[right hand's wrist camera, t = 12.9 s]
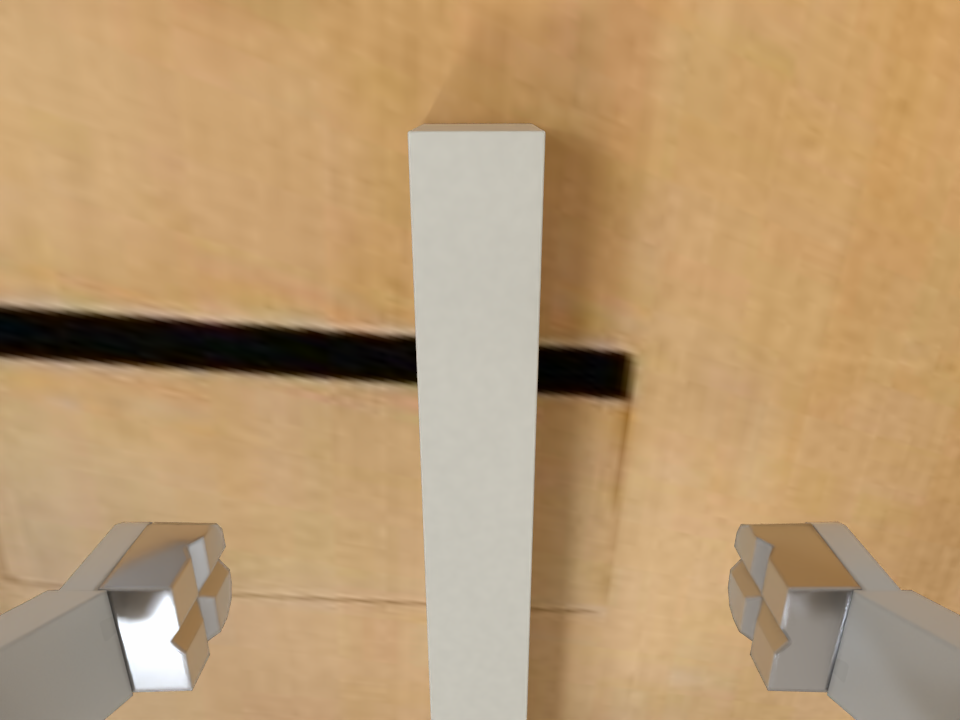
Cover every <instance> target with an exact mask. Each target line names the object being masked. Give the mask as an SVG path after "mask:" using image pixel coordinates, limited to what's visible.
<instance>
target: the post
mask: <svg viewBox="0 0 960 720" xmlns="http://www.w3.org/2000/svg"><path fill="white" fill-rule="evenodd" d="M408 153H409V178H410V204H411V229H412V254H413V279H414V304H415V329H416V355H417V380H418V405H419V430H420V455H421V481H422V506H423V531H424V556H425V581H426V606H427V632H428V657H429V682H430V707H431V720H527V700H528V668H529V637H530V605H531V573H532V542H533V510H534V479H535V447H536V415H537V384H538V352H539V321H540V289H541V257H542V226H543V194H544V163H545V131H543V130H542V129H540V128H538V127H536V126H535V125H533V124H422V125H420V126H418V127H416V128H414V129H412V130H411V131H409V132H408Z"/></svg>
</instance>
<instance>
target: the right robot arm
mask: <svg viewBox="0 0 960 720" xmlns="http://www.w3.org/2000/svg"><path fill="white" fill-rule="evenodd" d="M225 547H226V545H225V540H224V535H223V531H222V528H221V527H220V526H219V525H218V524H217V523H173V522H154V523H152V522H122V523H119V524H116V525H115V526H114V527H113V528H112V529H111V530H110V531H109V532H108V533H107V535H106V536H105V537H104V538H103V539H102V540H101V542H100V543H99V544H98V545H97V546H96V547H95V549H94V550H93V551H92V552H91V553H90V554H89V556H88V557H87V558H86V559H85V560H84V561H83V563H82V564H81V565H80V566H79V567H78V568H77V570H76V571H75V572H74V573H73V574H72V575H71V577H70V578H69V579H68V580H67V581H66V582H65V584H64V585H63V586H62V587H61V588H60V589H59V590H48V591H46V592H44V593H42V594H40V595H38V596H36V597H34V598H33V599H31V600H29V601H27V602H25V603H23V604H21V605H19V606H17V607H15V608H13V609H11V610H9V611H7V612H5V613H3V614H1V615H0V720H105V719H106V718H107V717H108V716H109V715H111V714H112V713H113V712H114V711H115V710H116V709H118V708H119V707H120V706H121V705H122V704H123V703H125V702H126V701H127V700H128V699H129V698H130V697H132V696H133V693H132V692H158V691H192V690H193V688H194V686H195V684H196V682H197V680H198V678H199V676H200V674H201V672H202V670H203V668H204V665H205V663H206V661H207V659H208V657H209V655H210V652H209V647H208V641H209V640H210V639H211V638H213V637H214V636H215V635H217V634H218V633H220V632H221V630H222V628H223V626H224V624H225V621H226V619H227V617H228V613H229V608H230V603H231V598H232V581H231V575H230V569H229V568H228V567H227V566H226V565H225V564H224V563H223V562H222V561H221V560H220V559H219V558H220V556H221V554H222V552H223V550H224V548H225ZM734 547H735V548H736V550H737V552H738V554H739V556H740V558H741V559H740V560H739V561H738V562H737V563H736V564H735V565H734V566H733V567H732V568H731V569H730V576H729V583H728V594H729V606H730V609H731V613H732V616H733V619H734V622H735V624H736V626H737V628H738V630H739V632H740V633H742V634H743V635H745V636H746V637H747V638H749V639H750V640H751V641H752V647H751V652H750V655H751V657H752V659H753V661H754V663H755V665H756V667H757V670H758V672H759V674H760V676H761V678H762V680H763V682H764V684H765V686H766V688H767V690H768V691H801V692H828V693H827V695H828V696H829V697H830V698H831V699H832V700H833V701H835V702H836V703H837V704H838V705H839V706H840V707H842V708H843V709H844V710H845V711H846V712H847V713H849V714H850V715H851V716H852V717H853V718H854V719H856V720H960V615H958V614H956V613H955V612H953V611H951V610H949V609H947V608H945V607H943V606H941V605H939V604H937V603H935V602H933V601H931V600H929V599H927V598H926V597H924V596H922V595H920V594H918V593H916V592H914V591H912V590H900V588H899V587H898V586H897V585H896V584H895V583H894V581H893V580H892V579H891V578H890V577H889V576H888V574H887V573H886V572H885V571H884V570H883V569H882V567H881V566H880V565H879V564H878V563H877V562H876V560H875V559H874V558H873V557H872V556H871V555H870V553H869V552H868V551H867V550H866V549H865V548H864V546H863V545H862V544H861V543H860V542H859V541H858V539H857V538H856V537H855V536H854V535H853V534H852V532H851V531H850V530H849V529H848V528H847V527H846V526H845V525H844V524H842V523H840V522H808V523H798V524H741V525H740V527H739V529H738V531H737V534H736V539H735V545H734Z"/></svg>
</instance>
